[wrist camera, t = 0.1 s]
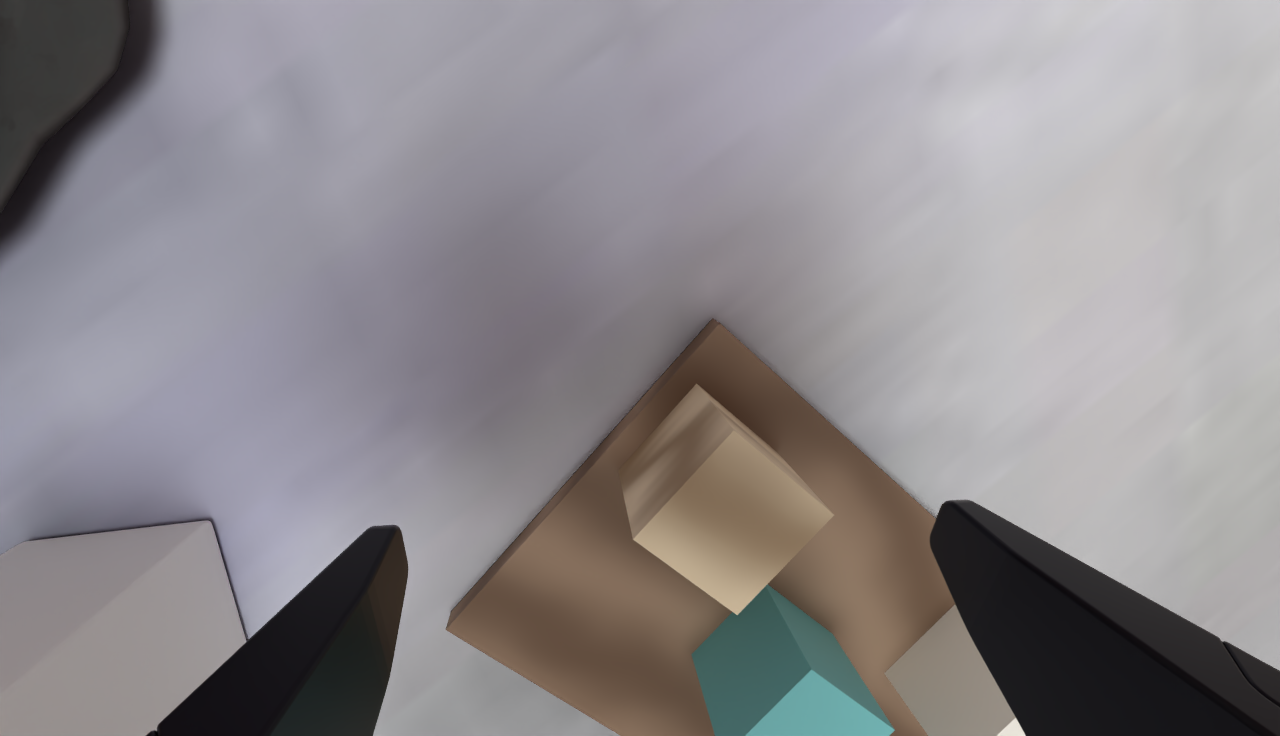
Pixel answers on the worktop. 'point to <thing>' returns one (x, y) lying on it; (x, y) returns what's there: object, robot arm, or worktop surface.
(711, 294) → the worktop surface
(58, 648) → the milk carton
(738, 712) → the teal block
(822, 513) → the birch block
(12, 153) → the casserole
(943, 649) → the off-white block
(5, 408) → the worktop surface
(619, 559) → the walnut board
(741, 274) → the worktop surface
